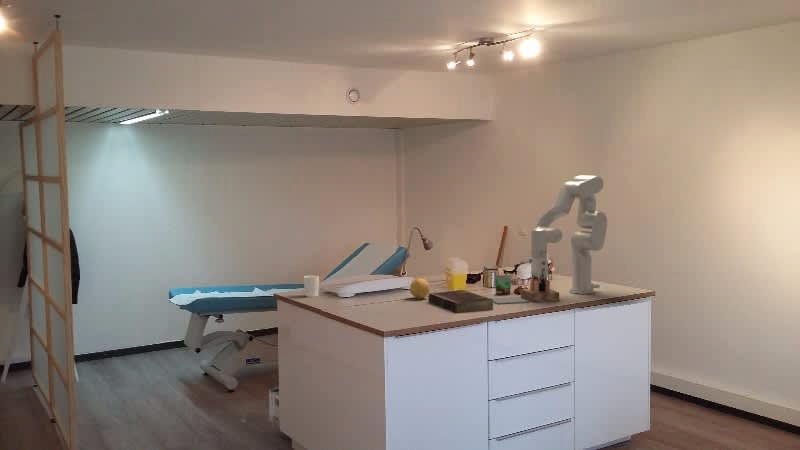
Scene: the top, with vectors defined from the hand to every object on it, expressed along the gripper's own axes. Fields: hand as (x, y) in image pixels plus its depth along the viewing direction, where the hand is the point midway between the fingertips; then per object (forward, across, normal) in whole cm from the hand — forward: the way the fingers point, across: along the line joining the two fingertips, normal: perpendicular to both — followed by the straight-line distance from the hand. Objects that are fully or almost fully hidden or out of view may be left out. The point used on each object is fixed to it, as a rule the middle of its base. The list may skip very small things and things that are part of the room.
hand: (538, 289), depth 355 cm
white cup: (+5, +40, +106) cm, 114 cm away
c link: (+1, 0, 0) cm, 1 cm away
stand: (+5, 0, 0) cm, 5 cm away
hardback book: (+5, -5, +42) cm, 43 cm away
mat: (+5, -1, +16) cm, 17 cm away
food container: (+5, +19, +10) cm, 22 cm away
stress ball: (+5, +18, +56) cm, 59 cm away
